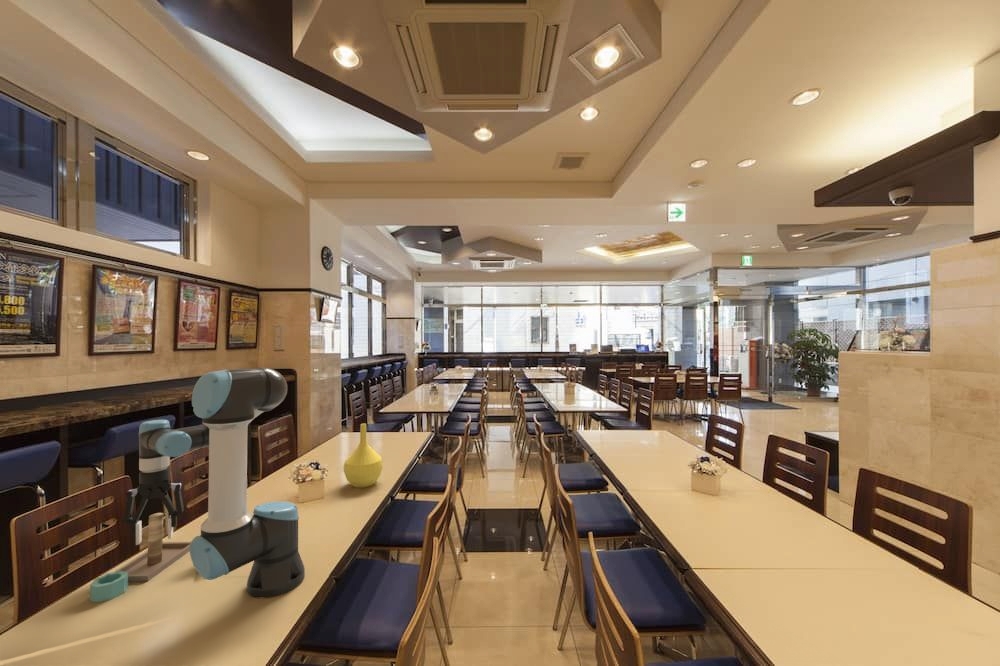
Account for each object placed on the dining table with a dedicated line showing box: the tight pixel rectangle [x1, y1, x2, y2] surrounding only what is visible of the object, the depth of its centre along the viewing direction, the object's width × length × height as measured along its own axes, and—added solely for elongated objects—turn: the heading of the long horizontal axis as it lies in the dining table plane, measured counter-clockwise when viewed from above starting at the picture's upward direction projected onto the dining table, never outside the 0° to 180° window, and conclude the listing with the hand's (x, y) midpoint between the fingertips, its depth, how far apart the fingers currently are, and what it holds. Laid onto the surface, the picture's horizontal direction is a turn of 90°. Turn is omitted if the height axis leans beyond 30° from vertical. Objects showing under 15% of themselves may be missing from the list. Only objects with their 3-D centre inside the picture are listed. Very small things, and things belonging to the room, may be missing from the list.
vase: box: [343, 423, 384, 488], centre depth 201 cm, size 18×18×30 cm
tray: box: [114, 541, 191, 583], centre depth 130 cm, size 20×12×2 cm, turn 1°
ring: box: [89, 571, 129, 603], centre depth 115 cm, size 7×7×5 cm
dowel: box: [147, 512, 164, 565], centre depth 131 cm, size 4×4×15 cm
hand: (154, 539), depth 130 cm, fingers open, 7 cm apart
